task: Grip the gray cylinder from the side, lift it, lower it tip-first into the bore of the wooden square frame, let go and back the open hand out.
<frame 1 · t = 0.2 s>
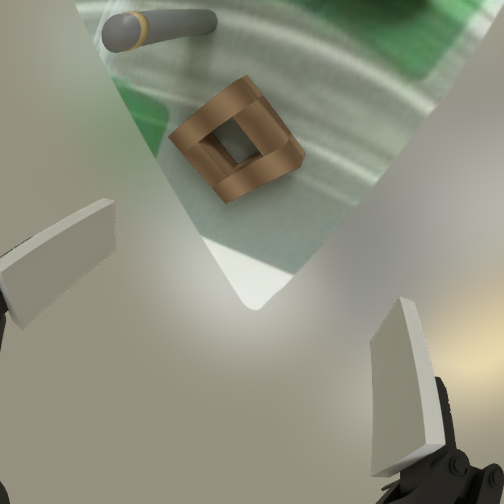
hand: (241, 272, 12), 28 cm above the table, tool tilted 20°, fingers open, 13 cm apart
wooden square frame: (240, 137, 37), on the table
gray cylinder: (204, 21, 26), on the table
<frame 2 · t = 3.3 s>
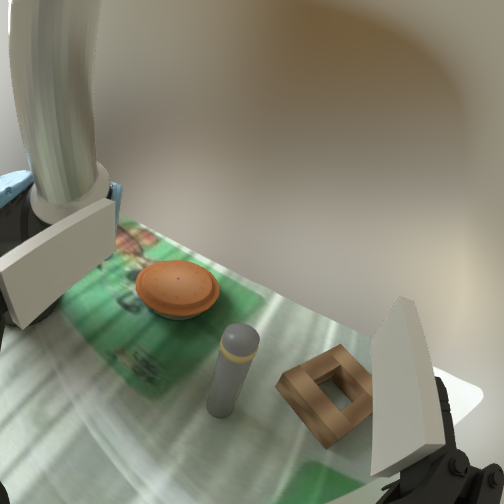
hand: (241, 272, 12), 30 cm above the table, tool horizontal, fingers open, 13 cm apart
pie: (176, 299, 52), on the table
wooden square frame: (329, 399, 39), on the table
gray cylinder: (219, 406, 35), on the table
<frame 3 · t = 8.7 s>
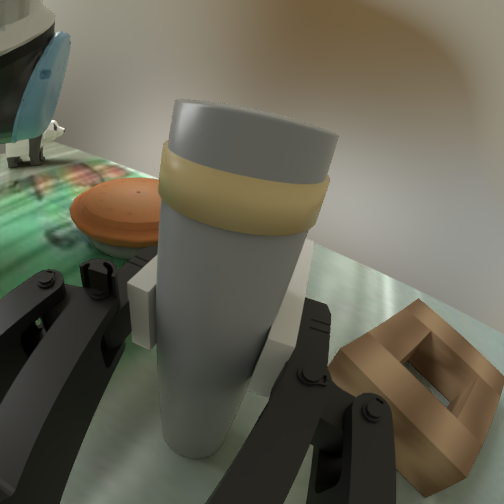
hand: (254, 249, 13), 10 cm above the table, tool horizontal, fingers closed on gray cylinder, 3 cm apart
pie: (137, 234, 31), on the table
giant panda: (32, 163, 44), on the table
wooden square frame: (415, 399, 18), on the table
gray cylinder: (193, 431, 14), on the table, touching gripper
when the fingers open (11 cm above the table, at t = 15.2 s): gray cylinder stays where it is, resting in wooden square frame.
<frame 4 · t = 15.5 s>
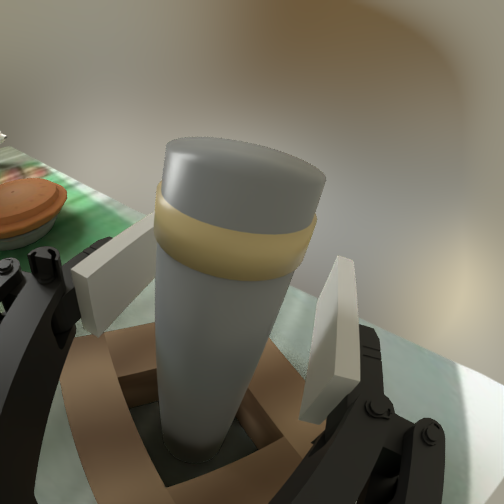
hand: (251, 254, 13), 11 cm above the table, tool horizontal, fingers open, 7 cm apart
pie: (17, 228, 27), on the table
wooden square frame: (192, 436, 14), on the table
gray cylinder: (192, 437, 14), resting in wooden square frame
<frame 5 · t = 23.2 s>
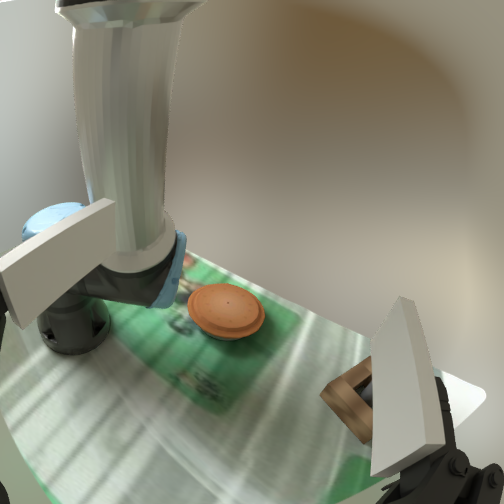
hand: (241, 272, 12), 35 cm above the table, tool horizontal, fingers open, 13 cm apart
pie: (224, 321, 57), on the table
wooden square frame: (363, 403, 45), on the table
gray cylinder: (362, 403, 45), resting in wooden square frame
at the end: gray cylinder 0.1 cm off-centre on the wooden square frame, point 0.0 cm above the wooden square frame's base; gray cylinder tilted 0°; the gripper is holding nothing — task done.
